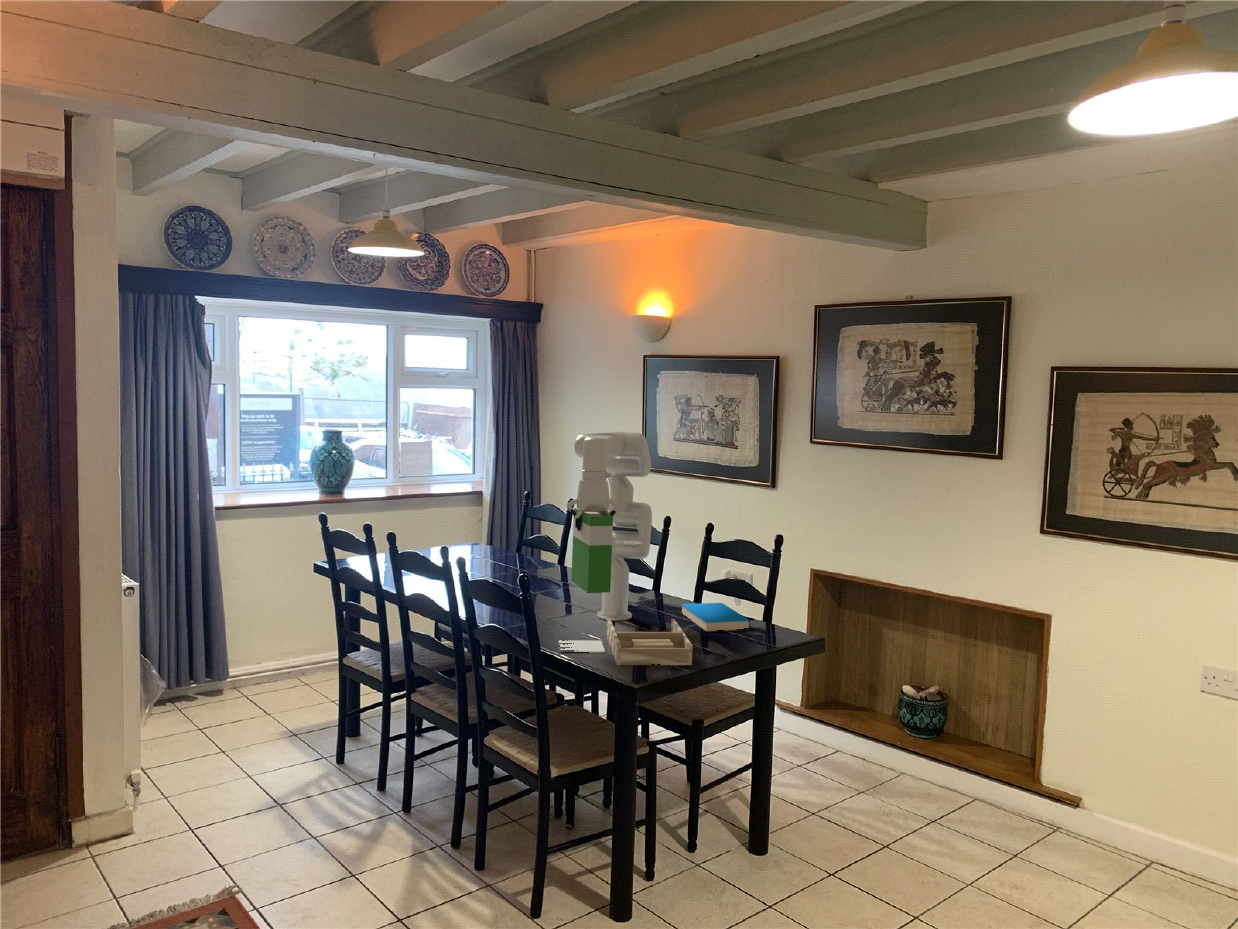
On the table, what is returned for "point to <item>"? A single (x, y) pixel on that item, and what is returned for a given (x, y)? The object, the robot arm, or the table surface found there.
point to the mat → (583, 646)
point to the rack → (648, 656)
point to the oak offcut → (651, 643)
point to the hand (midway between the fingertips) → (592, 530)
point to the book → (715, 616)
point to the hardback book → (592, 552)
